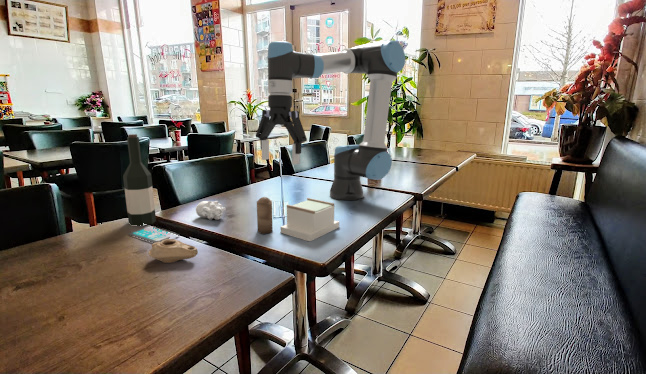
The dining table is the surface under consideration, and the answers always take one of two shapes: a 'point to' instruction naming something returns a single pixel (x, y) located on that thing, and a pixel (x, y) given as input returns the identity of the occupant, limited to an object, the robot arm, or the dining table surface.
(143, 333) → the dining table surface
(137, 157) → the wine bottle
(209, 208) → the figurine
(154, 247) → the pottery oil lamp
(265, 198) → the brown domed cylinder
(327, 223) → the display stand
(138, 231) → the smartphone
